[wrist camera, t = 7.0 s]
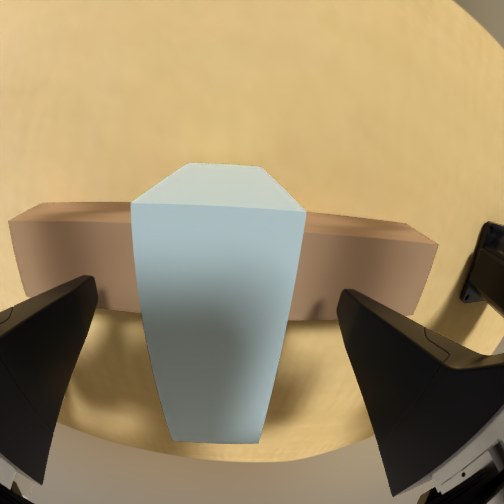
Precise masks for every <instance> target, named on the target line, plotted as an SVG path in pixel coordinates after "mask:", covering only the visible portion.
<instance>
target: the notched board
mask: <svg viewBox="0 0 504 504" xmlns="http://www.w3.org/2000/svg"><path fill="white" fill-rule="evenodd" d="M8 222H9V228H10V234H11V239H12V244H13V249H14V253H15V257H16V262H17V266H18V270H19V273H20V277H21V281H22V284H23V287H24V291H25V294H26V296H27V297H34V296H36V295H39V294H41V293H43V292H45V291H48V290H50V289H52V288H54V287H57V286H59V285H61V284H64V283H66V282H68V281H70V280H73V279H75V278H77V277H80V276H82V275H91V276H93V277H94V278H95V282H96V287H97V292H98V303H97V306H96V308H101V309H109V310H117V311H125V312H135V313H141V308H140V302H139V295H138V287H137V280H136V271H135V262H134V251H133V239H132V225H131V202H69V203H41V204H39V205H37V206H35V207H33V208H31V209H29V210H27V211H26V212H24V213H22V214H20V215H18V216H16V217H15V218H13V219H11V220H9V221H8ZM438 245H439V244H437V243H436V242H434V241H433V240H431V239H430V238H428V237H426V236H425V235H423V234H422V233H420V232H419V231H417V230H416V229H414V228H412V227H411V226H409V225H407V224H404V223H397V222H390V221H382V220H374V219H366V218H358V217H349V216H340V215H331V214H321V213H311V212H307V214H306V220H305V227H304V233H303V239H302V245H301V251H300V257H299V263H298V269H297V274H296V280H295V285H294V291H293V296H292V301H291V306H290V311H289V316H288V320H338V317H337V313H336V309H337V305H338V301H339V298H340V294H341V292H342V290H343V289H355V290H356V291H358V292H360V293H362V294H364V295H366V296H368V297H370V298H372V299H373V300H375V301H377V302H379V303H381V304H383V305H385V306H387V307H389V308H390V309H392V310H394V311H396V312H398V313H400V314H402V315H403V316H407V315H413V313H414V311H415V309H416V306H417V304H418V302H419V299H420V297H421V294H422V292H423V289H424V286H425V284H426V281H427V278H428V275H429V273H430V270H431V267H432V264H433V261H434V258H435V255H436V252H437V248H438Z"/></svg>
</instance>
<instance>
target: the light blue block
mask: <svg viewBox="0 0 504 504" xmlns="http://www.w3.org/2000/svg"><path fill="white" fill-rule="evenodd" d="M306 214H307V212H306V211H305V210H304V209H303V208H302V207H301V206H300V205H299V204H298V203H297V202H296V201H295V200H294V199H293V198H292V197H291V195H290V194H289V193H288V192H286V191H285V190H284V189H283V188H282V187H281V186H280V185H279V184H278V183H277V182H276V181H275V180H274V179H273V178H272V177H271V176H270V175H269V174H268V173H267V172H266V171H265V170H264V169H263V168H262V167H258V166H245V165H229V164H209V163H187V164H186V165H184V166H183V167H181V168H180V169H178V170H177V171H175V172H174V173H172V174H171V175H169V176H168V177H166V178H165V179H163V180H162V181H160V182H159V183H158V184H156V185H155V186H153V187H152V188H151V189H149V190H148V191H146V192H145V193H144V194H142V195H141V196H139V197H138V198H137V199H135V200H134V201H133V202H131V225H132V239H133V251H134V262H135V271H136V280H137V287H138V295H139V302H140V308H141V315H142V321H143V326H144V332H145V337H146V343H147V348H148V352H149V357H150V362H151V366H152V370H153V375H154V379H155V383H156V387H157V391H158V395H159V398H160V402H161V406H162V409H163V413H164V416H165V419H166V423H167V426H168V429H169V432H170V435H171V438H172V440H173V441H183V442H196V443H216V444H254V443H259V440H260V436H261V433H262V429H263V425H264V421H265V417H266V414H267V410H268V406H269V402H270V397H271V393H272V389H273V385H274V381H275V377H276V372H277V368H278V363H279V359H280V354H281V350H282V345H283V341H284V336H285V331H286V326H287V321H288V316H289V311H290V306H291V301H292V296H293V291H294V285H295V280H296V274H297V269H298V263H299V257H300V251H301V245H302V239H303V233H304V227H305V220H306Z"/></svg>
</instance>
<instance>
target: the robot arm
mask: <svg viewBox="0 0 504 504" xmlns="http://www.w3.org/2000/svg"><path fill="white" fill-rule="evenodd" d="M460 300H461V301H462V302H463V303H469V302H478V301H486V302H487V303H488V304H489V305H490V306H491V307H492V308H493V309H494V310H495V311H497V312H498V313H499V314H500V315H501V316H502V317H503V318H504V225H501V224H497V223H494V222H490V221H488V222H487V223H486V224H485V227H484V230H483V234H482V237H481V240H480V244H479V247H478V250H477V253H476V256H475V259H474V262H473V265H472V268H471V270H470V273H469V276H468V278H467V281H466V283H465V286H464V288H463V291H462V293H461V296H460ZM97 303H98V292H97V287H96V282H95V278H94V277H93V276H91V275H82V276H80V277H77V278H75V279H73V280H70V281H68V282H66V283H64V284H61V285H59V286H57V287H54V288H52V289H50V290H48V291H45V292H43V293H41V294H39V295H36V296H34V297H32V298H30V299H28V300H26V301H23V302H21V303H19V304H17V305H15V306H14V307H10V308H8V309H6V310H4V311H2V312H0V504H34V503H32V502H30V501H28V500H27V499H25V498H23V496H22V494H21V492H20V490H19V487H18V485H17V483H16V482H15V481H13V479H14V476H15V473H16V472H17V473H19V474H21V475H23V476H25V477H26V478H28V479H30V480H32V481H34V482H36V483H38V484H40V485H42V484H43V480H44V475H45V468H46V464H47V459H48V455H49V450H50V446H51V442H52V438H53V432H54V429H55V426H56V422H57V419H58V415H59V412H60V408H61V405H62V402H63V399H64V396H65V393H66V390H67V387H68V384H69V381H70V378H71V375H72V373H73V370H74V367H75V365H76V362H77V359H78V357H79V354H80V352H81V349H82V347H83V344H84V342H85V339H86V337H87V334H88V331H89V328H90V325H91V322H92V319H93V315H94V312H95V309H96V306H97ZM336 313H337V317H338V321H339V325H340V329H341V333H342V337H343V341H344V345H345V348H346V351H347V354H348V357H349V359H350V362H351V365H352V368H353V370H354V373H355V376H356V379H357V382H358V385H359V388H360V390H361V393H362V396H363V399H364V402H365V405H366V408H367V411H368V415H369V418H370V421H371V424H372V427H373V430H374V434H375V437H376V440H377V443H378V445H379V446H378V447H379V451H380V454H381V458H382V461H383V464H384V468H385V472H386V475H387V479H388V483H389V487H390V490H391V494H392V496H393V497H394V496H397V495H399V494H402V493H404V492H406V491H409V490H411V489H413V488H415V487H417V486H420V485H422V484H423V483H425V482H427V481H430V480H433V483H434V485H435V487H434V488H433V489H431V490H429V491H427V492H426V493H424V494H422V495H421V496H420V498H419V500H418V502H417V504H504V353H502V354H498V355H490V356H488V355H482V354H479V353H476V352H474V351H472V350H470V349H468V348H466V347H464V346H462V345H459V344H457V343H455V342H453V341H451V340H449V339H447V338H445V337H443V336H441V335H439V334H437V333H435V332H433V331H431V330H429V329H428V328H426V327H423V326H422V325H420V324H418V323H416V322H415V321H413V320H411V319H409V318H407V317H405V316H403V315H402V314H400V313H398V312H396V311H394V310H392V309H390V308H389V307H387V306H385V305H383V304H381V303H379V302H377V301H375V300H373V299H372V298H370V297H368V296H366V295H364V294H362V293H360V292H358V291H356V290H355V289H343V290H342V292H341V294H340V298H339V301H338V305H337V309H336Z"/></svg>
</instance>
